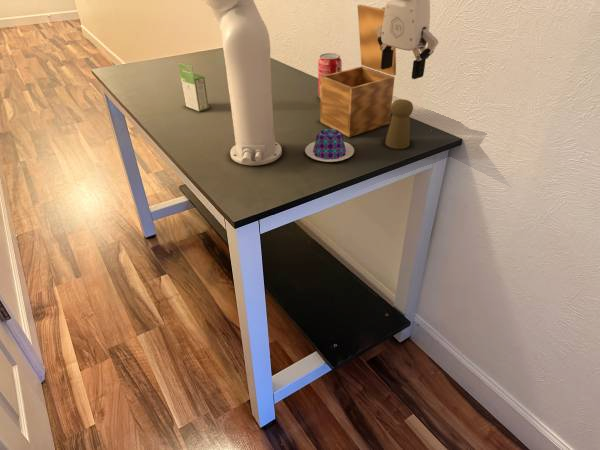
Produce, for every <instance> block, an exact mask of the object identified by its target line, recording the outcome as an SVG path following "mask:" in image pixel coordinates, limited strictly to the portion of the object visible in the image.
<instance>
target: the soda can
mask: <svg viewBox="0 0 600 450" xmlns="http://www.w3.org/2000/svg"><path fill="white" fill-rule="evenodd" d="M342 62H343V61H342V58H341V54H339V53H335V52H328V53H327V52H326V53H322V54H320V55H319V59H318V61H317V63H318V64H317V65H318V66H317V69H318V72H317V73H318V75H317V76H318V77H317V78H318V82H317V84H318V87H317V88H318V97H319V99H320V100H321V76H324V75H328V74H333V73H337V72H341V71H343V70H342V67H343V65H342V64H343V63H342Z"/></svg>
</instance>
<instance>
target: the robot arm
mask: <svg viewBox="0 0 600 450" xmlns="http://www.w3.org/2000/svg"><path fill="white" fill-rule="evenodd" d="M202 2H204V3H205V4H206V5H207V7H208V9H209V10H210V13H211V14H212V17H213V18H214V20H215V22H216V25H217V26H218V28H219V30H220V32H221V41H222V50H223V56H224V63H225V70H226V79H227V80H226V81H227V87H228V93H229V101H230V109H231V117H232V126H233V135H234V141H235V145H233V146H232V147H231V149H230V151H229V153H230V158H231V159H232V161H234V162H235V163H238V164H239V165H244V166H251V167H253V166H263V165H268V164H271V163H273V162H275V161H277V160H278V159H279V158H280V157H281V156H282V154H283V150H282V146H281V144H280V143H279V142H277V141H276V136H275V135H276V134H275V122H274V104H273V90H272V72H271V70H272V69H271V39H270V34H269V31H268V28H267V25H266V22H265V21H264V20H263V18H262V16H261V14H260V11H259V9H258V8H257V7H258V6H257V5H256V2H255V1H254V0H202ZM384 7H385V12H384V18H383V25H382V26H380V27H378V28H377V29H376V33H377V37H378V43H379V45H380V50H381V51H382V58H381V69H387V68H391V67H392V62H393V50H392V49H391V48H392V47H394V48H396V49H398V50H401V51H408V52H410V51H412V53H413V55H414V58H415V59H414V60H413V62H412V70H411V79H412V80H417V79H420V78H423V77H424V75H425V67H426V60H428V59H429V58H430V56H432V54H433V53H434V51H435V49H436V48H437V46H438V44H439V40H438V38H436V37H435V35H433V33H431V32H430V22H431V0H386V4H385V6H384Z"/></svg>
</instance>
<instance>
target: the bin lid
mask: <svg viewBox="0 0 600 450" xmlns="http://www.w3.org/2000/svg"><path fill="white" fill-rule="evenodd" d="M385 7H386V6H384V7H381V8H380V7H375V6H369V5H364V4H357V19H358V20H357V21H358V33H359V34H358V35H359V36H358V37H359V50H360V64H361V66H363V67H366V68H369V69H372V70H375V71H378V72H381V73H384V74H387V75H390V76H393V77H395V76H396V75H397V56H396V55H397V52H396V51H397V48H394V47H392V48H391V49H392V50H393V62H392V67H391V68H387V69H381V58H382V51H381V50H380V45H379V43H378V37H377V33H376V29H377V28H378V27H380V26H382V25H383V18H384V12H385Z"/></svg>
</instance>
